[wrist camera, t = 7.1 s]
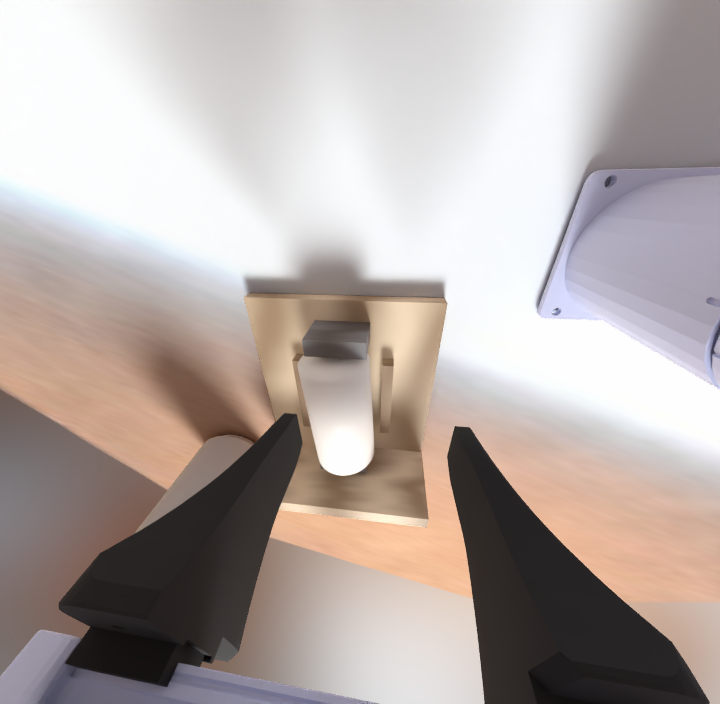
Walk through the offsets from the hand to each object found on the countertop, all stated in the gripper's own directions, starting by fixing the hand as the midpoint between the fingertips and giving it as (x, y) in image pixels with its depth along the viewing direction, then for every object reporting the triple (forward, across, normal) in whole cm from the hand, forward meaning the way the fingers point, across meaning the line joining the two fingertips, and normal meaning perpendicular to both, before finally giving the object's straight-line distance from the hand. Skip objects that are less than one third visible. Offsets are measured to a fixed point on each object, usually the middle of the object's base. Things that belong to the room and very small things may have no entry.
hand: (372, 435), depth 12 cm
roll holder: (+9, +3, +4) cm, 11 cm away
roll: (+8, +3, +4) cm, 10 cm away
